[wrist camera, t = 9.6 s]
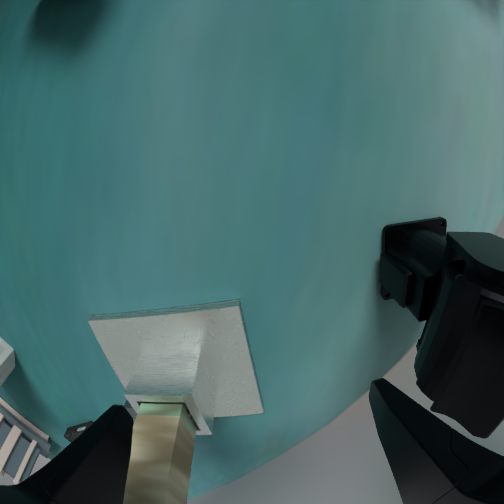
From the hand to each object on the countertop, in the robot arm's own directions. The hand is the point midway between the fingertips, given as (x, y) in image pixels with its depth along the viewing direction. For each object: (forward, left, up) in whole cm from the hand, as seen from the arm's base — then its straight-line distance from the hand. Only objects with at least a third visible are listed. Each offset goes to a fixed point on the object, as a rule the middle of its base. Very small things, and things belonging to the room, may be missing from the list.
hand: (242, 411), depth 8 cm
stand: (+8, +10, -13) cm, 18 cm away
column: (+8, +10, -7) cm, 15 cm away
